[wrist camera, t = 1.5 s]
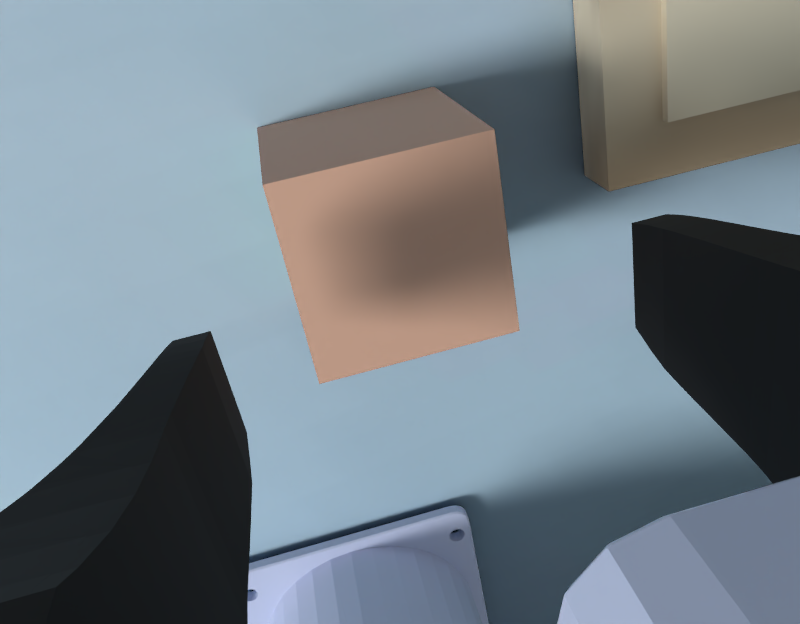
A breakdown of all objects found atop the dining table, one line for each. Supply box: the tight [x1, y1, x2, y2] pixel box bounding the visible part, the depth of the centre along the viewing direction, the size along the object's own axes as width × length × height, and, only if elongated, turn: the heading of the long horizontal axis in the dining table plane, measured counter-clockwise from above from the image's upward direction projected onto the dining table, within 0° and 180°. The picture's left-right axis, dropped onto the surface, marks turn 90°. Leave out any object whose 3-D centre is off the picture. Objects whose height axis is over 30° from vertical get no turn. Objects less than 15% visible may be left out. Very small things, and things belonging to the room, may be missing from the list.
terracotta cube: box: [257, 87, 519, 384], centre depth 17 cm, size 4×4×5 cm
